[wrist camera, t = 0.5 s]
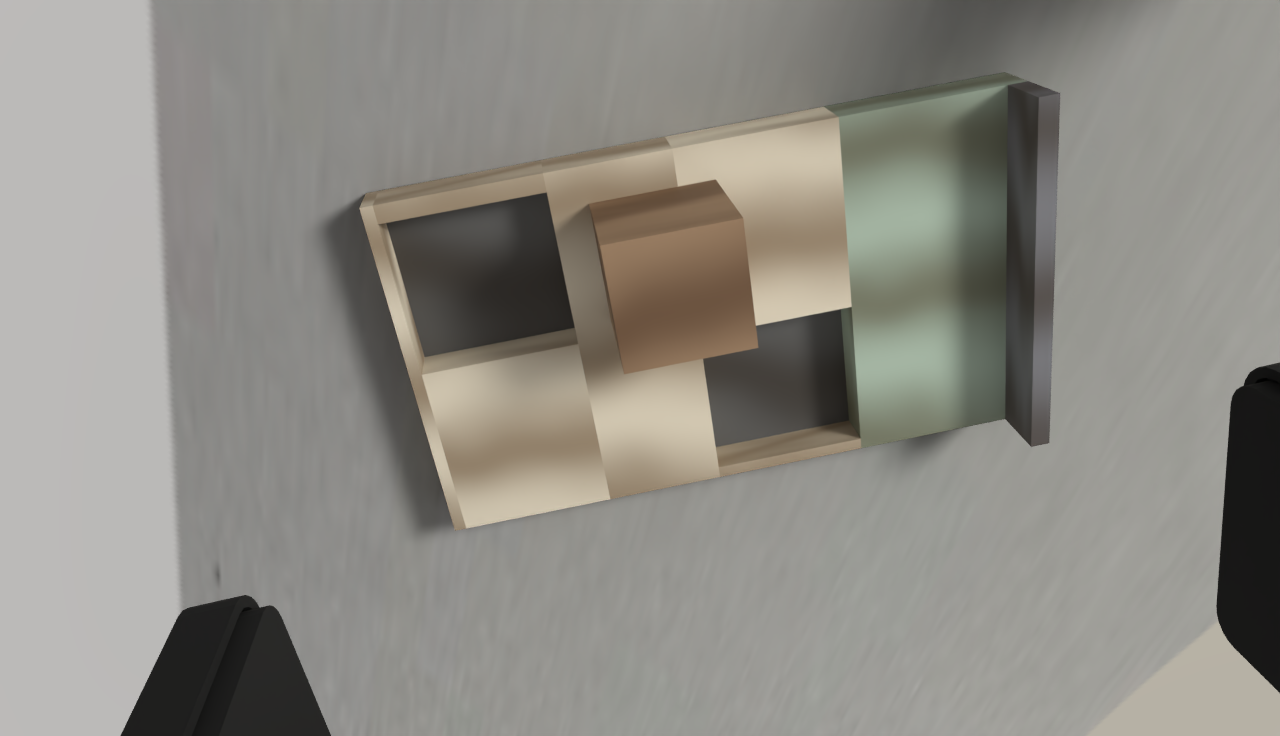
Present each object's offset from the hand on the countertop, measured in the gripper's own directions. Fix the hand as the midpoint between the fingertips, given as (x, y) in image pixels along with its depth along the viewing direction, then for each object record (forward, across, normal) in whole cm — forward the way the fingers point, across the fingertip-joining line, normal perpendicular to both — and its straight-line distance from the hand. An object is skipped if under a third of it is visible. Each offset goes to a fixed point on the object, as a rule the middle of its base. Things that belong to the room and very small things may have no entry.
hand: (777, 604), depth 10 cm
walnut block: (+30, -2, +6) cm, 31 cm away
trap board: (+32, -4, +10) cm, 34 cm away
